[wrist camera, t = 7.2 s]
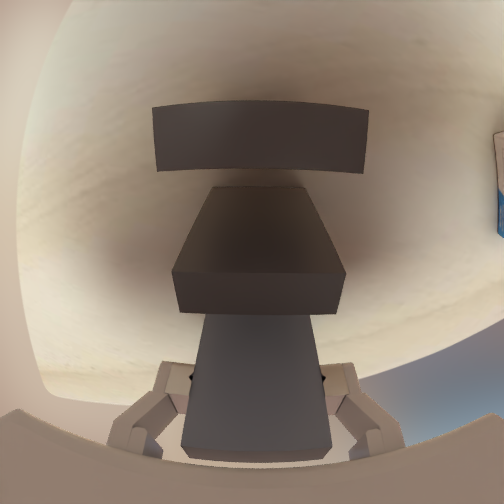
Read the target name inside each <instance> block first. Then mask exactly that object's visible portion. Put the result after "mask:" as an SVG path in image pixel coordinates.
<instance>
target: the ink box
mask: <svg viewBox="0 0 504 504" xmlns="http://www.w3.org/2000/svg"><path fill="white" fill-rule="evenodd" d="M494 144H495V151H496V160H497V171H498V189H499V223H498V234H499V235H500V236H502V237H503V238H504V131H503V132H500V133H497V134H495V135H494Z"/></svg>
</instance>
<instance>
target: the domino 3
mask: <svg viewBox="0 0 504 504" xmlns="http://www.w3.org/2000/svg"><path fill="white" fill-rule="evenodd" d="M195 365H196V366H195V371H194V374H193V379H192V386H191V391H190V396H189V400H188V406H187V411H186V417H185V422H184V428H183V434H182V440H181V447H182V448H183V450H184V451H185V452H186V454H187V455H188V457H189V458H194V459H202V460H212V461H225V462H247V463H248V462H249V463H272V462H295V461H308V460H318V459H323V458H324V456H325V455H326V454H327V453H328V451H329V450H330V449H331V448H332V440H331V433H330V426H329V419H328V413H327V407H326V401H325V396H324V390H323V385H322V384H323V383H322V377H321V373H320V368H319V360H318V355H317V350H316V345H315V339H314V334H313V329H312V324H311V319H310V315H228V314H206V316H205V320H204V325H203V330H202V334H201V339H200V344H199V349H198V354H197V359H196V364H195Z"/></svg>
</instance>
